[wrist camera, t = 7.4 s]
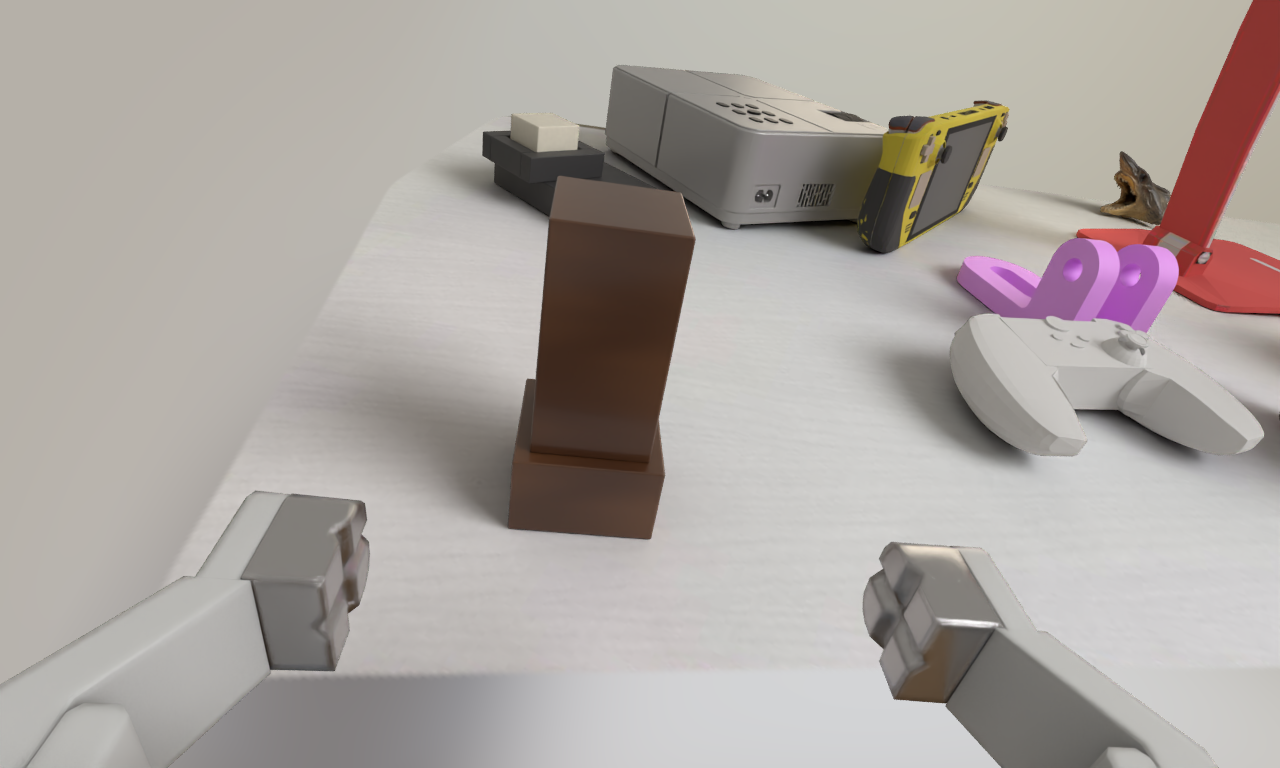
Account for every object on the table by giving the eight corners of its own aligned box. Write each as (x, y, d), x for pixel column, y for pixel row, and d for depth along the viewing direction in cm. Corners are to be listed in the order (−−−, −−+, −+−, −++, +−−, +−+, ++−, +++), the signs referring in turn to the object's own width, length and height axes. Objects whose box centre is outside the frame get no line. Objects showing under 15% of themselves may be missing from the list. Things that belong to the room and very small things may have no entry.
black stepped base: (561, 236, 47) (566, 177, 45) (479, 183, 53) (480, 130, 51) (661, 220, 53) (670, 168, 50) (575, 175, 59) (580, 126, 57)
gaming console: (891, 266, 52) (942, 129, 47) (840, 247, 54) (884, 113, 48) (980, 210, 70) (1024, 107, 65) (939, 197, 72) (979, 96, 67)
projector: (724, 233, 52) (748, 127, 48) (597, 147, 67) (607, 61, 63) (877, 225, 60) (910, 133, 56) (733, 149, 75) (750, 73, 71)
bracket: (1127, 363, 43) (1191, 261, 40) (1051, 359, 42) (1110, 253, 39) (1005, 275, 54) (1047, 188, 50) (942, 270, 53) (980, 180, 49)
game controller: (1052, 431, 29) (942, 281, 35) (994, 493, 32) (903, 345, 38) (1305, 430, 32) (1161, 295, 39) (1231, 486, 35) (1109, 351, 42)
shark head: (1108, 224, 73) (1142, 159, 70) (1070, 203, 79) (1100, 143, 75) (1171, 231, 75) (1208, 169, 71) (1129, 211, 80) (1162, 152, 76)
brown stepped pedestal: (507, 528, 24) (528, 222, 18) (522, 439, 28) (542, 167, 22) (650, 539, 24) (717, 247, 18) (643, 451, 28) (695, 189, 23)
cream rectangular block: (536, 156, 49) (538, 126, 48) (509, 142, 51) (511, 113, 50) (577, 153, 51) (580, 125, 50) (549, 140, 54) (552, 112, 52)
